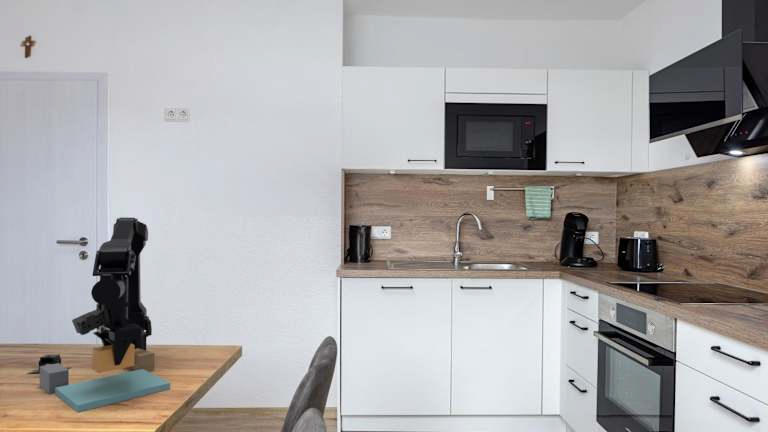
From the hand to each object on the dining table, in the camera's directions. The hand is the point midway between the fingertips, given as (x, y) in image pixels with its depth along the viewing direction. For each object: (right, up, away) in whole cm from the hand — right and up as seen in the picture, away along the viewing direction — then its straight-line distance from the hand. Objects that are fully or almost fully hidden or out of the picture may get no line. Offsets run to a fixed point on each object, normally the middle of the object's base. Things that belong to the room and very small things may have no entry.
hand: (113, 363), depth 119 cm
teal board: (0, -7, 0) cm, 7 cm away
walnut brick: (-2, -7, +17) cm, 18 cm away
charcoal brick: (-16, -7, +2) cm, 17 cm away
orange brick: (0, -1, 0) cm, 1 cm away
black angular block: (-26, -7, +16) cm, 31 cm away
